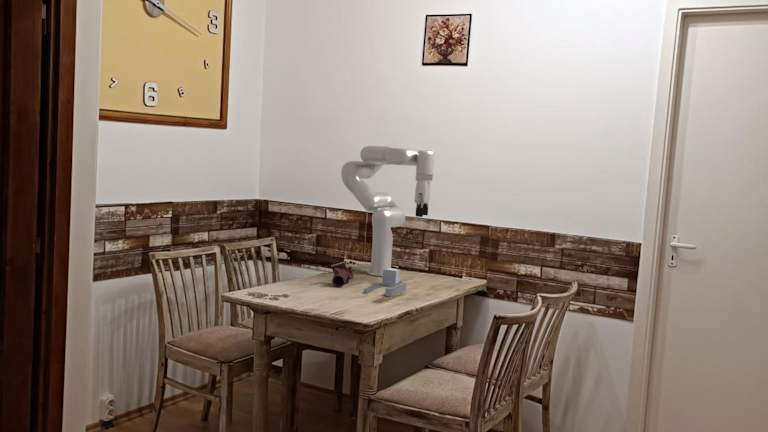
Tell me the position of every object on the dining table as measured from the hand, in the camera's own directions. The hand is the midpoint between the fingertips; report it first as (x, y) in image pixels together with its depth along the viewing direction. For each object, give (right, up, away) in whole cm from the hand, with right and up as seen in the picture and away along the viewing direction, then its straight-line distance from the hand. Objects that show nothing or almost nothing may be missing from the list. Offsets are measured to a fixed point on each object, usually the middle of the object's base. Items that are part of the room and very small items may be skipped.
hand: (421, 215), depth 349 cm
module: (-14, -31, -9) cm, 35 cm away
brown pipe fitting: (-36, -30, -13) cm, 48 cm away
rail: (-17, -32, -23) cm, 43 cm away
